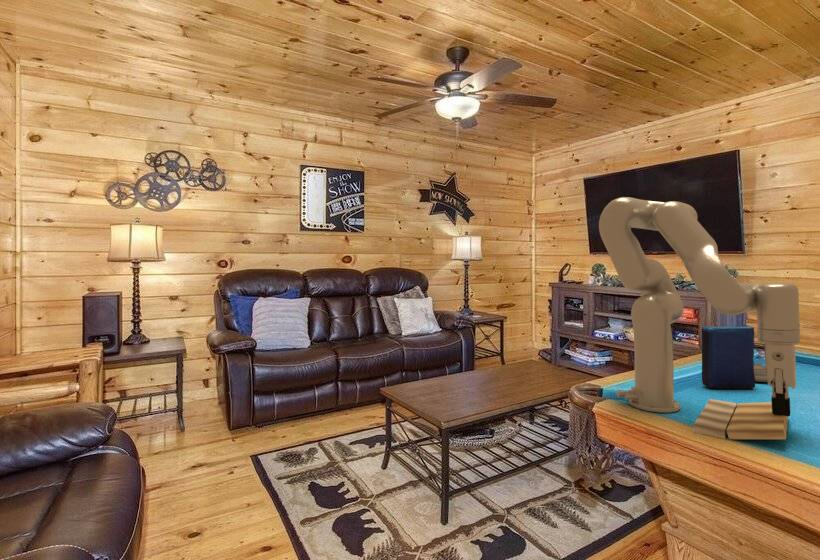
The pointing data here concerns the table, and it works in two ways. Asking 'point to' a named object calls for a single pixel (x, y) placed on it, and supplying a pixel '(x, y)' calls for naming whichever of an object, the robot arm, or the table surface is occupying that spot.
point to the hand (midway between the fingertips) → (781, 414)
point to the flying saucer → (760, 373)
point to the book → (728, 356)
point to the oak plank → (757, 422)
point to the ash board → (715, 418)
